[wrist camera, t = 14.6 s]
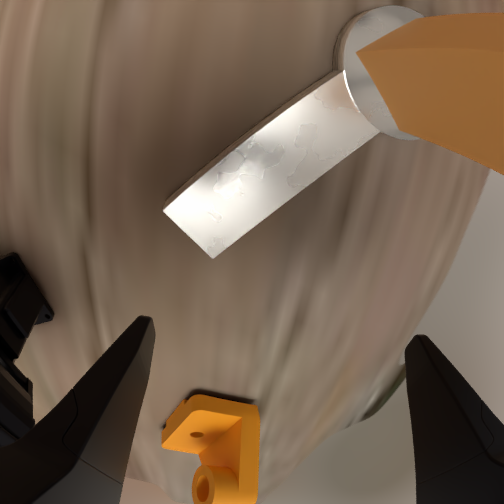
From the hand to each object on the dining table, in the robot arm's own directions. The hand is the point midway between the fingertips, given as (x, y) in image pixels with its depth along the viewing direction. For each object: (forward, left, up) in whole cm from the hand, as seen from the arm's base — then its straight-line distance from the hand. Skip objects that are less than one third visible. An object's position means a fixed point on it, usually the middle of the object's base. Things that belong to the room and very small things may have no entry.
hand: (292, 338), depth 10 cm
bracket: (-10, -23, -12) cm, 28 cm away
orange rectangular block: (+12, +7, -10) cm, 17 cm away
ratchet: (+6, +4, -12) cm, 14 cm away
